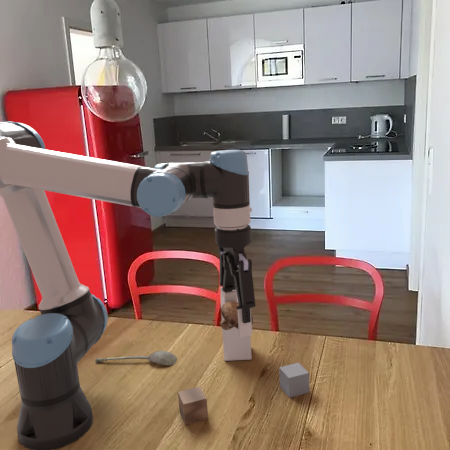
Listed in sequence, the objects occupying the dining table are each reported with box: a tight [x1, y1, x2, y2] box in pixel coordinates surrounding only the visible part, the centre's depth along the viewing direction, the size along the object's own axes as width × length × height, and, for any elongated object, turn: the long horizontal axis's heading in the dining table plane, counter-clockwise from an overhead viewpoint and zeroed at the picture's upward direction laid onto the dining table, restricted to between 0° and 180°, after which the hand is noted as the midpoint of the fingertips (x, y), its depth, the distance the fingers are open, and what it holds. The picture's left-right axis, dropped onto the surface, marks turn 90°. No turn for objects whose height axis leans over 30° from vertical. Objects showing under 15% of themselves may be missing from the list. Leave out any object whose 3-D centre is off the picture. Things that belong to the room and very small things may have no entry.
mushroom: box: [219, 301, 254, 330], centre depth 106 cm, size 8×8×6 cm
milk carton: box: [219, 286, 253, 362], centre depth 127 cm, size 7×7×19 cm
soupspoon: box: [94, 350, 178, 367], centre depth 129 cm, size 22×3×6 cm
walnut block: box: [177, 386, 209, 426], centre depth 104 cm, size 5×5×5 cm
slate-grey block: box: [278, 362, 310, 398], centre depth 111 cm, size 5×5×5 cm
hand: (238, 326), depth 106 cm, fingers closed on mushroom, 8 cm apart
